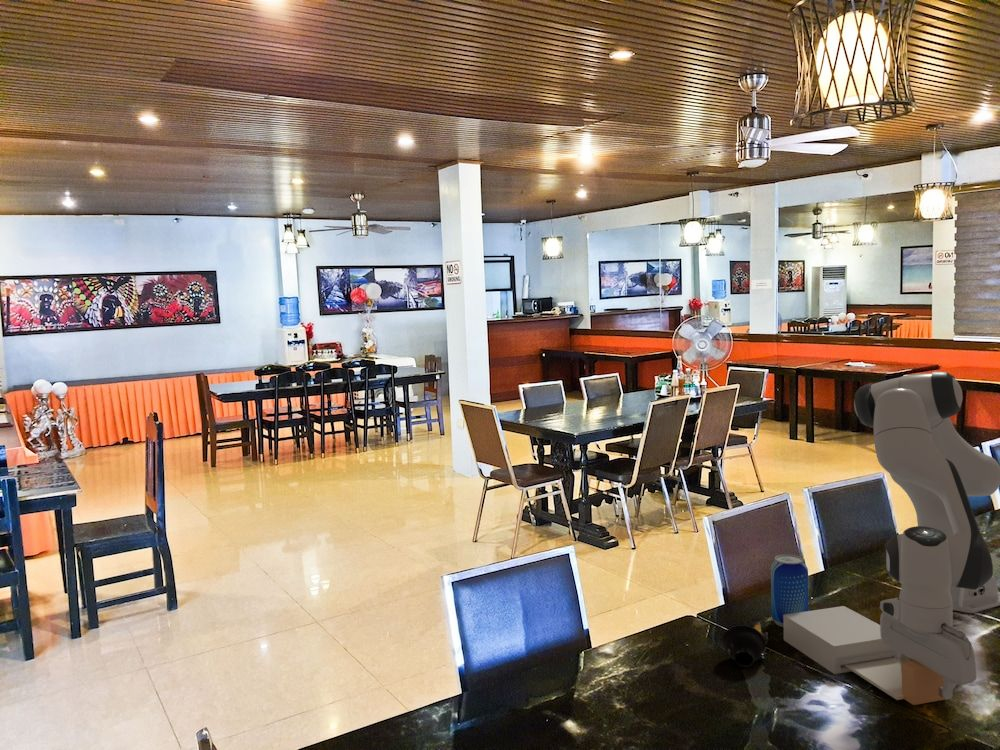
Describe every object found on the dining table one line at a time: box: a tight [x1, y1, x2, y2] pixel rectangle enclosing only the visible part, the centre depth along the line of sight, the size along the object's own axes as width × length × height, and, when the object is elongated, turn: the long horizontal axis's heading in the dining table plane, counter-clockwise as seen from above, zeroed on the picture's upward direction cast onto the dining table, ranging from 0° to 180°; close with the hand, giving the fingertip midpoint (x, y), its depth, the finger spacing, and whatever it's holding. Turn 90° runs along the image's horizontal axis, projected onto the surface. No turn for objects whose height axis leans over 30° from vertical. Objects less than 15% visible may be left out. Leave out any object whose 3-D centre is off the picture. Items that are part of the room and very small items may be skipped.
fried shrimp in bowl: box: [721, 621, 769, 668], centre depth 172 cm, size 9×11×18 cm
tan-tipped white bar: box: [843, 657, 946, 706], centre depth 157 cm, size 11×22×7 cm, turn 13°
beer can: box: [770, 554, 810, 629], centre depth 188 cm, size 8×8×16 cm
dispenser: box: [783, 605, 899, 675], centre depth 171 cm, size 16×19×6 cm
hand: (925, 686), depth 147 cm, fingers open, 8 cm apart
